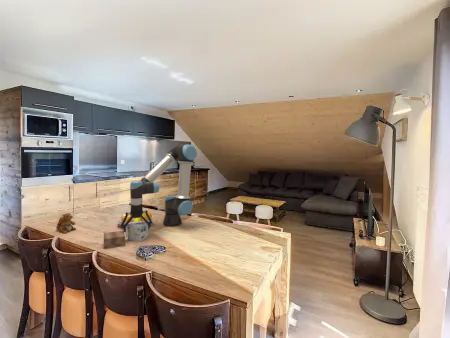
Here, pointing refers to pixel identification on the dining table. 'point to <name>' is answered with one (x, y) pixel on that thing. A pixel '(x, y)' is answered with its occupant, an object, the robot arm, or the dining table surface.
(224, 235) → the dining table surface
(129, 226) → the light bulb box
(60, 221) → the stuffed squirrel
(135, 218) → the fruit bowl
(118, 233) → the walnut step
